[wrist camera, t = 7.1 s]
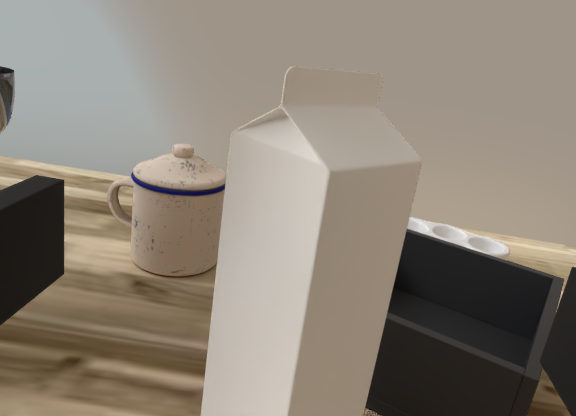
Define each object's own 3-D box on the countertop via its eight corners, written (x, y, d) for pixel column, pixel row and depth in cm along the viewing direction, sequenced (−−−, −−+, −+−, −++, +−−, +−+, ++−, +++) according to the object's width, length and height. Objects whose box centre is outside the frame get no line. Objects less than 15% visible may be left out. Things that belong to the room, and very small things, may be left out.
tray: (262, 355, 39) (275, 272, 37) (358, 279, 54) (371, 216, 51) (504, 477, 31) (539, 380, 29) (539, 349, 46) (564, 278, 43)
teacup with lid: (232, 251, 56) (244, 145, 52) (199, 287, 47) (211, 164, 44) (130, 228, 58) (134, 124, 54) (81, 259, 49) (83, 139, 46)
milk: (346, 493, 28) (446, 86, 21) (261, 557, 24) (350, 79, 17) (273, 425, 32) (336, 63, 25) (190, 469, 28) (238, 53, 21)
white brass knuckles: (338, 270, 55) (355, 226, 69) (514, 311, 52) (495, 256, 65) (344, 241, 54) (359, 202, 68) (524, 281, 51) (502, 232, 64)
